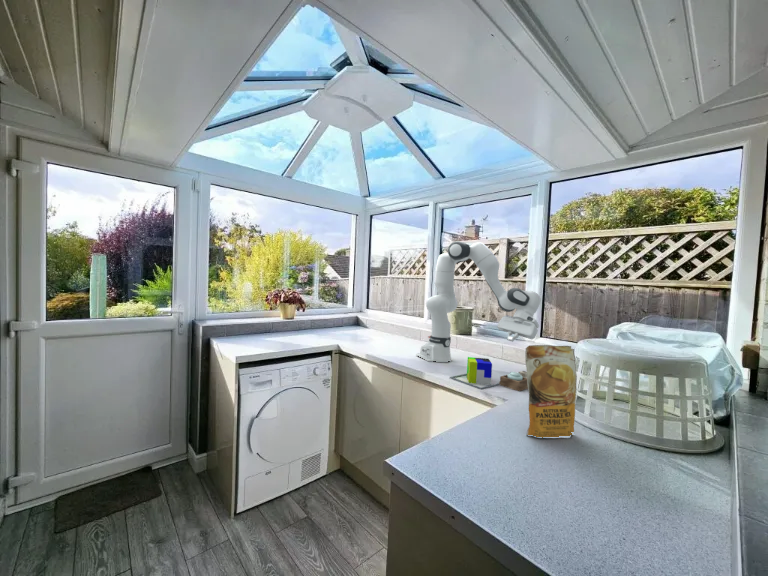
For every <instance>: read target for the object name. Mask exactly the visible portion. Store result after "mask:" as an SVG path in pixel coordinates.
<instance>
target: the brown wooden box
mask: <svg viewBox="0 0 768 576" xmlns="http://www.w3.org/2000/svg"><path fill="white" fill-rule="evenodd" d="M517 373H520V375H522V376H523V379H522V380H520V381H516V380H512V379H509V378H508V374H506V375H501V376H500V375H499V376H500V377H499V381H498V383H499V384H500V385H499V386H502V387H505V388H507V389H511V390H513V391H517V392H521V391H525V390H528V385H527V370H526V371H525V370H520V371H517Z"/></svg>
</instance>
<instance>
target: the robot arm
mask: <svg viewBox="0 0 768 576" xmlns="http://www.w3.org/2000/svg"><path fill="white" fill-rule="evenodd" d="M468 260H472V261H473V263H474V265H476V267H477V269H478V270H479V271H480V272H481V274H482V276H483V278H484V279H485V282H486V284H487V285H488V286H489V288H490V290H491V291H492V293H493V295H494V296H495V299H496V300H497V301H496V302H497V305H498V307H499V308H500V309H501V310H502V311H504V312H506V313H509V312H513V311H515V312H514V314H513V316H512V315H507V314H506V315H504V316H502V317H501V319H500V320H499V321H498V323H497V325H496V327H497V328H498V330H499V331H502V332H505V333H507V337H506V340H507V341H509V342H512V343H513V342H515V340H516V339H518V338H519V337H522V338H525V339H529V340H534V339H535V338H536V336H537V333H538V329H539V327H540V324H539V322H538V320H537V319H536V318H535V317H534V315H535V314H536V313H537V311H538V309H539V307H540V304H541V301H542V298H541V296H540V295H539V294H538V293H537V292H536V291H534V290H523V289H520V288H518V287H512V288H509V289H508V290H507V291H506V289H505V288H504V286H503V283H501V281H500V279H499V270H500V262H499V260H498V258H497V257H496V255H495V254H494V253H493V252H492V250H491V249H490V248H489V246H487V245H486V244H484V243H483V242H480V241H478V242H474V243H472V245H469V244H468V243H466V242H463V241H460V240H457V241H453V242H452V243H450V244H449V246H448V248H447V252H443V253H442V254H439V256H438V258H437V260H436V261H437V262H436V266H435V277H434V286H435V287H436V290H437V294H436V295H435V294H434V295H432V296H430V297H428V298H427V300H426V303H425V305H426V309H427V310H428V312H429V314H430V319H431V335H429V336H427V338H428V341H426V343H424V344H422V346H421V347H420V351H419V352H418V353H416V354H415V356H416V355H417V356H416V357H418V356H419V358H420V357H421V358H420V359H422V358H423V359H422V360H424V359H425V361H427V362H433V361H436V362H437V363H449V362H448V361H450V362H452V361H451V360H452V356H451V341H452V340H451V326H452V324H451V322H450V320H449V317H448V313H452V312H454V311H455V310H456V309H457V308H458V303H459V302H458V299H457V298H456V294H455V288H454V285H455V283H454V281H455V270H456V269H455V268H456V266H457V265H456V264H460V263H463V262H464V263H465V262H466V261H468ZM512 335H513V336H512ZM436 362H435V363H436Z"/></svg>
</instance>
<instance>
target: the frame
mask: <svg viewBox="0 0 768 576" xmlns="http://www.w3.org/2000/svg"><path fill="white" fill-rule="evenodd" d="M465 376H467V372H465V373H462V374H458V375H452V376H449V377H450V378H452V379H451V380H454V381H457V382H460V383H461V384H465V385H467V386H469V387H473V388H474V389H475V388H476V389H478V390H480V391H481V390H486V389H490V388H493V387H496V386H501V385H500V384H499V382H497V383H494V384H491V385H486V386H485V385H484V386H478V385H476V384H475V385H474V384H473V383H469V382H468V381H464V380H461V379H458V378H459V377H465ZM455 377H456V378H455ZM450 378H449V379H450Z"/></svg>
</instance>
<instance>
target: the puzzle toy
mask: <svg viewBox="0 0 768 576" xmlns="http://www.w3.org/2000/svg"><path fill="white" fill-rule="evenodd" d="M466 365H467V366H466V373H467V375H466V378H467V379H466V380H467V383H470V384H473V385H474V384H475V385H476V384H478V385H484V386H485V385H486V386H489V385H492V375H493V373H492V370H493V362H492V361H491V360H490V359H489V358H485V357H483V358H482V357H473V356H472V357H471V356H470V357H469V356H467V363H466Z"/></svg>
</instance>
